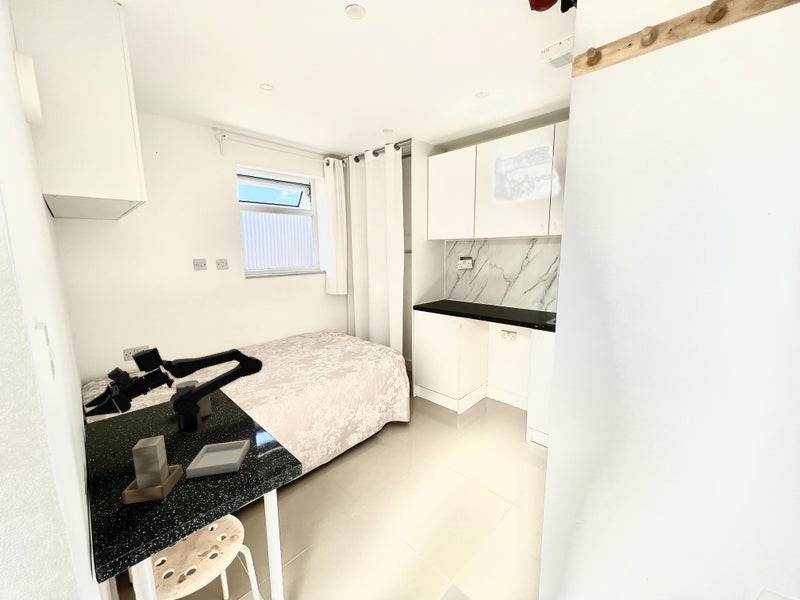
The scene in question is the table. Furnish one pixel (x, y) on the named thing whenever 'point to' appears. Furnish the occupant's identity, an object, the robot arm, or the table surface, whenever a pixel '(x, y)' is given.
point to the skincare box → (204, 403)
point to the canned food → (186, 384)
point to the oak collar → (152, 488)
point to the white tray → (218, 458)
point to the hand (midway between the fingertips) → (85, 411)
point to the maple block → (150, 462)
